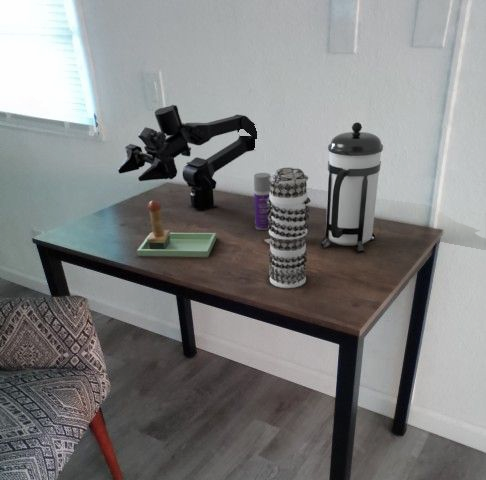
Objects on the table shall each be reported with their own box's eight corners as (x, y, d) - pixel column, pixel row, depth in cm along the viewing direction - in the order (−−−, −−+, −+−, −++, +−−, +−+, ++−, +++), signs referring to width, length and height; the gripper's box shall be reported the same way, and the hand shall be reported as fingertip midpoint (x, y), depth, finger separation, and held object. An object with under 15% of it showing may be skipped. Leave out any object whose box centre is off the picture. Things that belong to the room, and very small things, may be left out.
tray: (138, 257, 128) (137, 250, 126) (151, 239, 138) (150, 232, 137) (208, 258, 125) (207, 251, 124) (216, 240, 135) (216, 232, 134)
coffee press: (308, 236, 135) (311, 120, 118) (363, 229, 137) (374, 114, 121) (329, 262, 120) (337, 134, 104) (391, 254, 122) (407, 127, 106)
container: (260, 231, 139) (258, 178, 131) (252, 226, 143) (250, 174, 135) (274, 227, 141) (273, 175, 133) (266, 223, 144) (265, 171, 136)
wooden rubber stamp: (148, 251, 129) (141, 204, 123) (155, 241, 135) (148, 196, 128) (165, 251, 129) (158, 204, 122) (171, 241, 134) (165, 196, 127)
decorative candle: (287, 267, 119) (287, 162, 106) (316, 279, 113) (320, 169, 100) (259, 279, 114) (256, 171, 101) (288, 293, 108) (288, 179, 95)
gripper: (140, 116, 142) (98, 142, 135) (183, 128, 132) (140, 155, 125) (152, 152, 150) (113, 177, 143) (193, 165, 140) (153, 193, 133)
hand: (128, 175), depth 136 cm, fingers open, 9 cm apart
